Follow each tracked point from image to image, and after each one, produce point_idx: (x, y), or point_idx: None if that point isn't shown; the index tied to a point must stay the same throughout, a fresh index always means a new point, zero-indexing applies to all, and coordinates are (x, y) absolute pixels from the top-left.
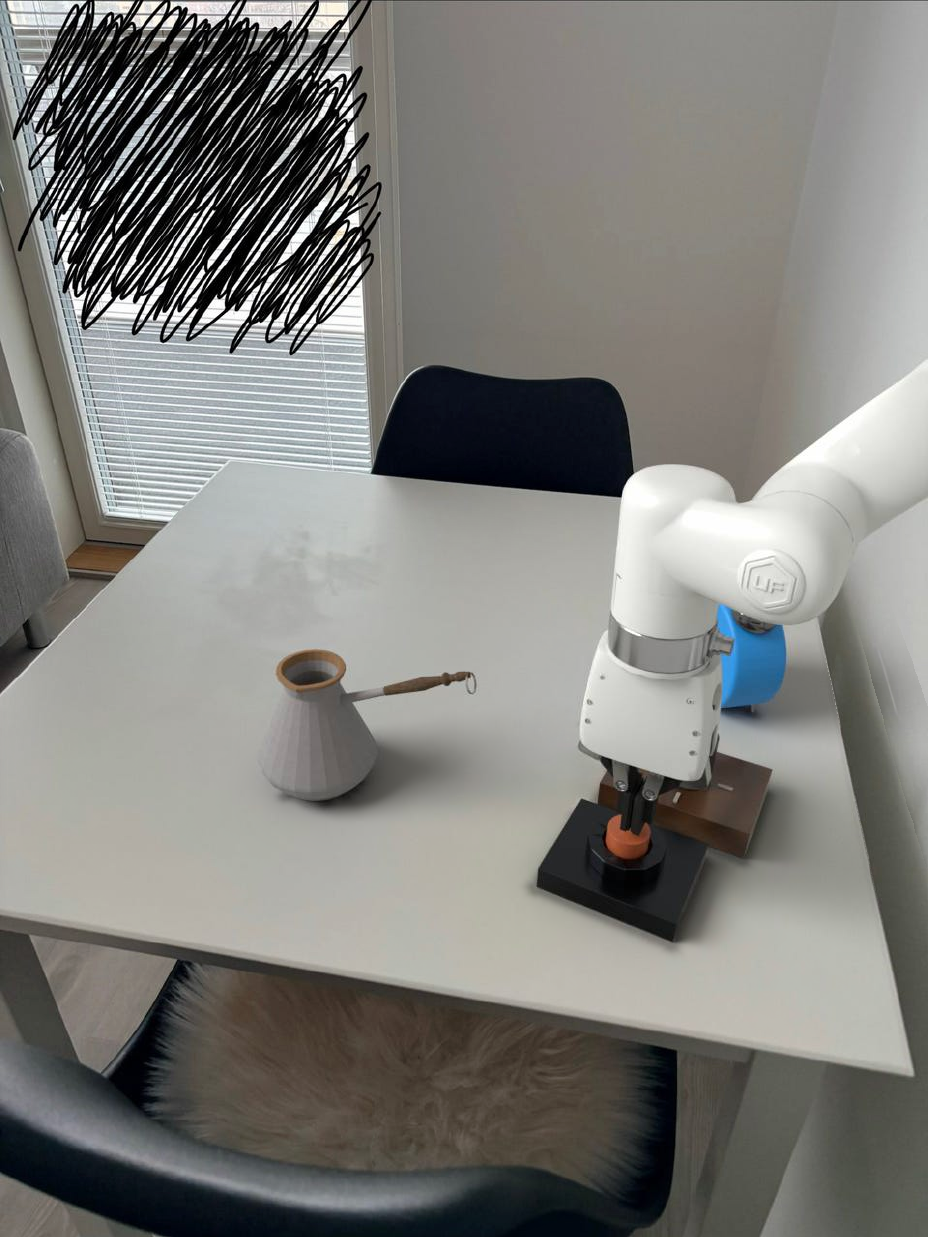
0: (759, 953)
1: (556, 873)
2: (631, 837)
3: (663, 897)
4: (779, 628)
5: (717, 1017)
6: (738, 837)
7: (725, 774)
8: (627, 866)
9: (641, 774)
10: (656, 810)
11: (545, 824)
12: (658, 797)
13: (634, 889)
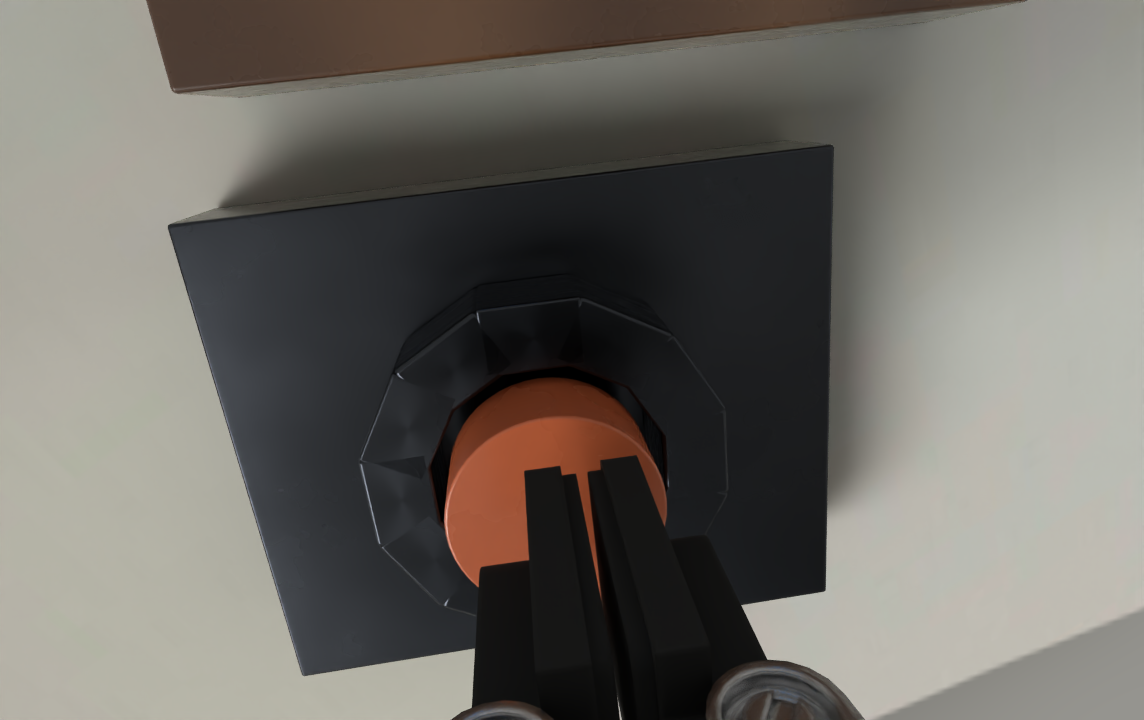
0: (1030, 420)
1: (372, 657)
2: (594, 560)
3: (753, 523)
4: None
5: (951, 655)
6: (954, 11)
7: None
8: None
9: (588, 675)
10: (711, 547)
11: (135, 344)
12: (747, 621)
13: None
